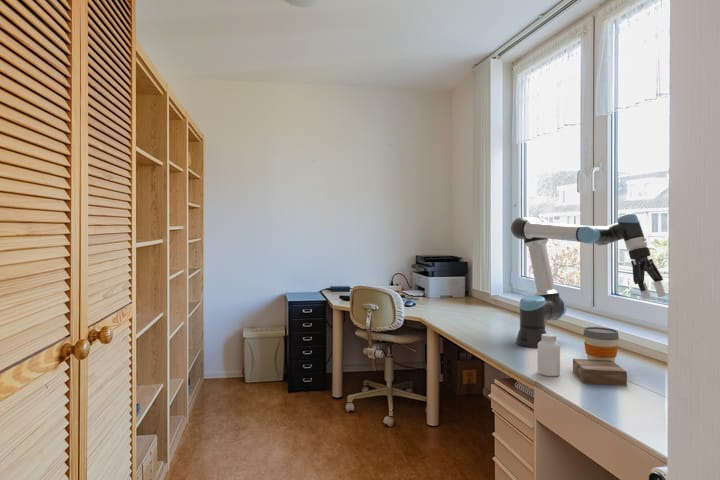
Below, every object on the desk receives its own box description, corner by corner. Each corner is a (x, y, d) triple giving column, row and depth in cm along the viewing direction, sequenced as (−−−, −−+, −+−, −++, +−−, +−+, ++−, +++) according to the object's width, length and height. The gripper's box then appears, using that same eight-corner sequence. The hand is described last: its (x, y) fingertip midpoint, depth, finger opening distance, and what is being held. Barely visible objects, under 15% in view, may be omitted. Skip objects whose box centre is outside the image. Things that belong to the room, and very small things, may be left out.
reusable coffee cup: (606, 373, 166) (606, 334, 166) (576, 364, 177) (576, 328, 177) (625, 368, 172) (625, 331, 172) (595, 360, 183) (595, 325, 183)
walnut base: (572, 371, 168) (572, 358, 168) (611, 373, 166) (611, 360, 166) (584, 383, 155) (584, 369, 155) (626, 385, 152) (626, 371, 152)
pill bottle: (558, 371, 168) (558, 333, 168) (561, 378, 160) (561, 338, 160) (537, 369, 171) (537, 332, 171) (538, 375, 163) (538, 336, 163)
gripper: (632, 246, 173) (650, 297, 168) (660, 246, 187) (677, 293, 181) (614, 251, 179) (630, 301, 174) (642, 251, 193) (658, 297, 187)
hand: (654, 297), depth 178 cm, fingers open, 13 cm apart
